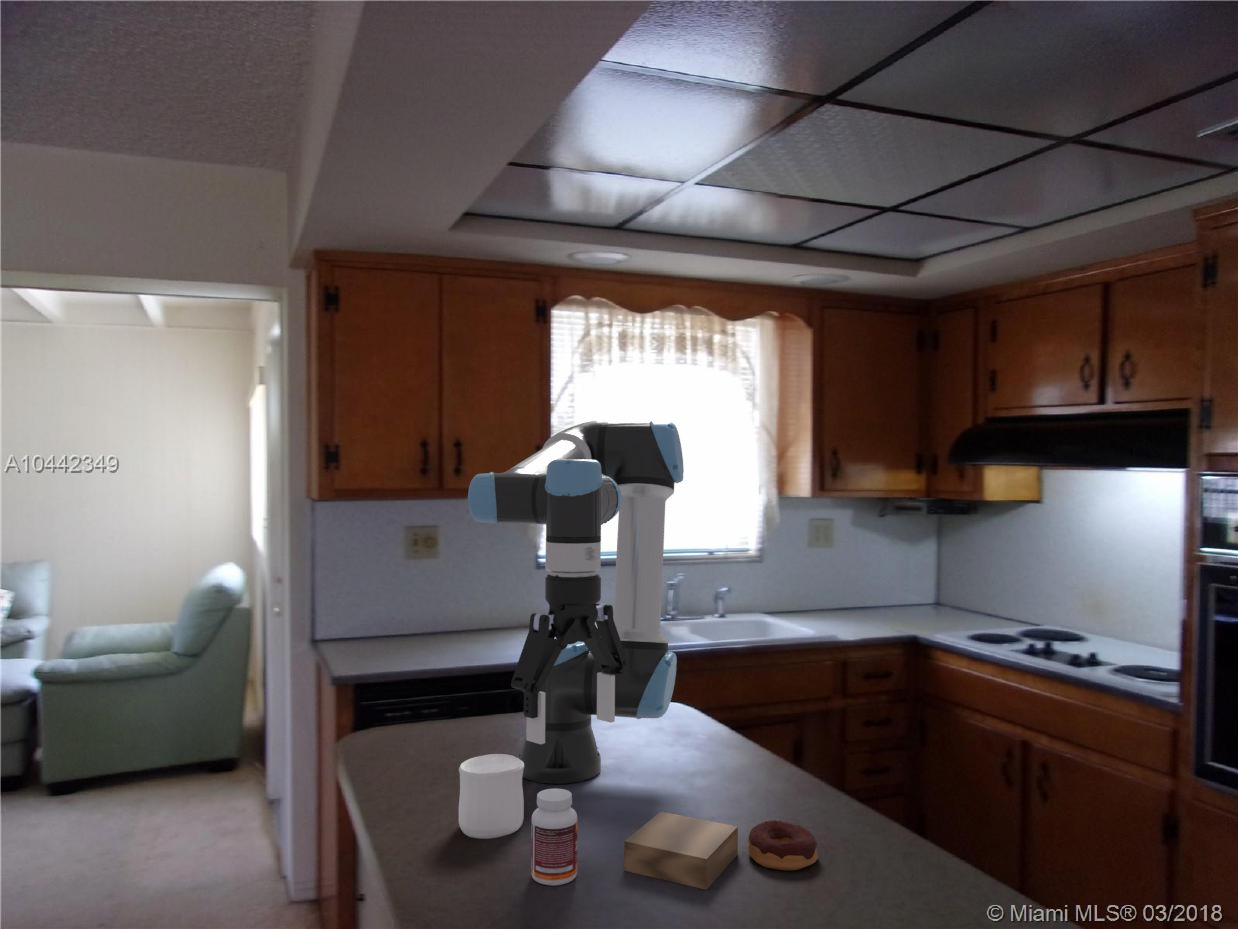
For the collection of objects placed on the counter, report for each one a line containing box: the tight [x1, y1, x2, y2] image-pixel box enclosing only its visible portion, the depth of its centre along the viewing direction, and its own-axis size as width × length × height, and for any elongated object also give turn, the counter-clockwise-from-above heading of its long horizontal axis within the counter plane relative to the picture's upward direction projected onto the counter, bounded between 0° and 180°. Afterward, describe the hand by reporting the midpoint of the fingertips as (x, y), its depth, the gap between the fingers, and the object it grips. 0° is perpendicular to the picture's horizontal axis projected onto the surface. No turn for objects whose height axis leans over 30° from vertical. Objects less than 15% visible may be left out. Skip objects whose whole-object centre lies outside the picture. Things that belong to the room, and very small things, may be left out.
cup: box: [458, 753, 525, 840], centre depth 138 cm, size 10×10×10 cm
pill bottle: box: [530, 787, 578, 886], centre depth 121 cm, size 6×6×11 cm
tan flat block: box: [623, 811, 739, 891], centre depth 126 cm, size 12×12×4 cm
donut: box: [747, 819, 819, 871], centre depth 127 cm, size 10×10×4 cm
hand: (572, 731), depth 122 cm, fingers open, 13 cm apart
